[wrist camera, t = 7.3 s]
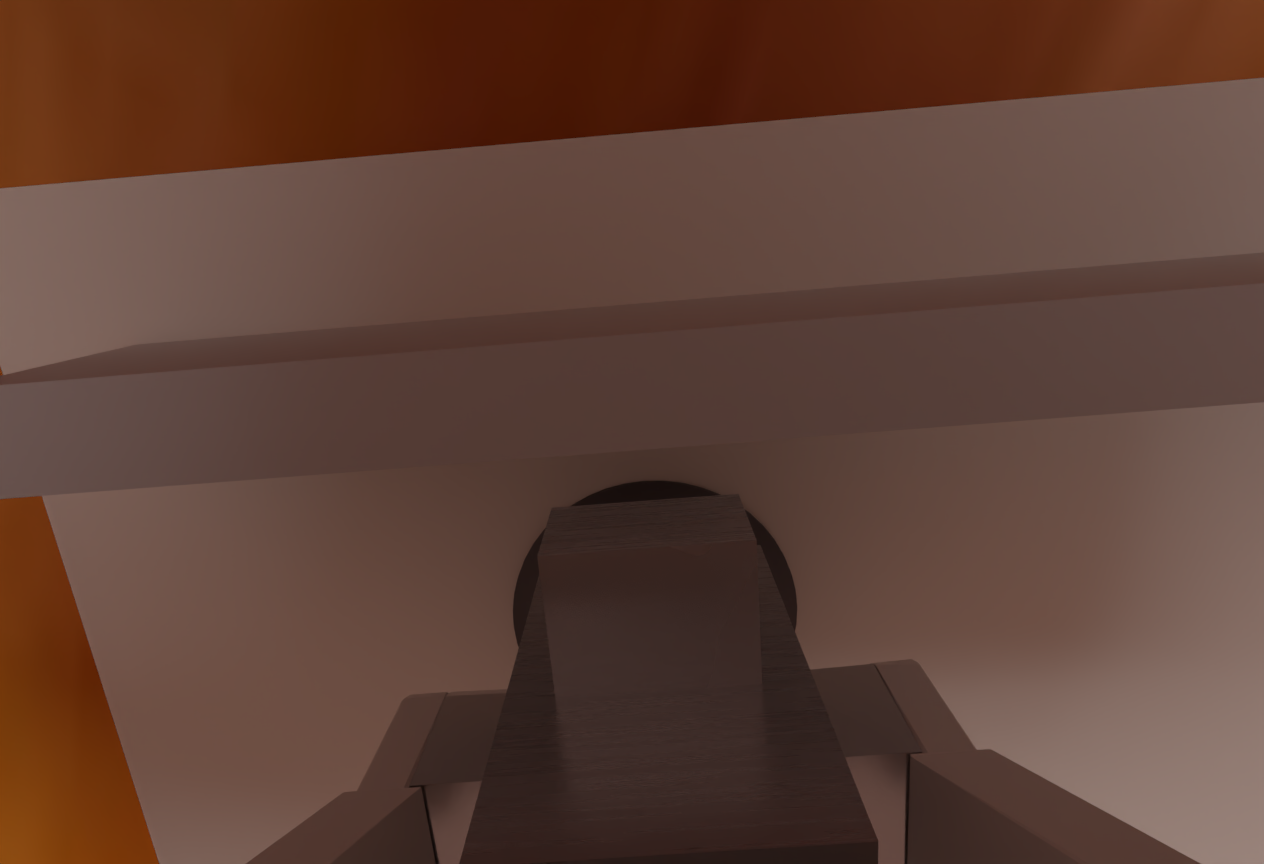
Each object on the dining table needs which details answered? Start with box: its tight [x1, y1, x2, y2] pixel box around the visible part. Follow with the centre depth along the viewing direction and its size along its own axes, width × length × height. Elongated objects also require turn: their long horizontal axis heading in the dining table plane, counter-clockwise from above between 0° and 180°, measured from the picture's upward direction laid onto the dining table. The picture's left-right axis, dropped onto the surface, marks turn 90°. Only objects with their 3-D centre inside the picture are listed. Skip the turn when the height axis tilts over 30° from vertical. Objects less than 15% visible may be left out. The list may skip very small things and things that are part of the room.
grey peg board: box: [0, 78, 1264, 864], centre depth 10 cm, size 30×14×7 cm, turn 95°
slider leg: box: [459, 494, 878, 864], centre depth 8 cm, size 3×4×5 cm, turn 5°
